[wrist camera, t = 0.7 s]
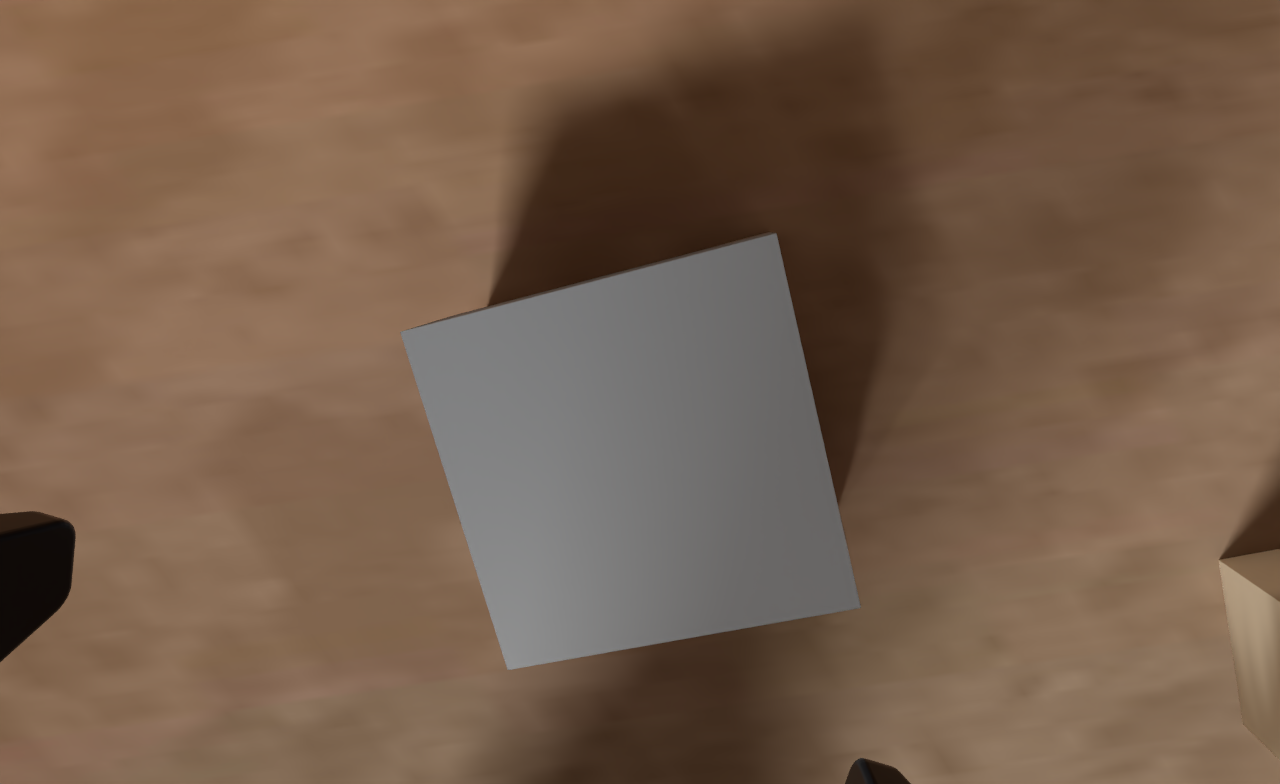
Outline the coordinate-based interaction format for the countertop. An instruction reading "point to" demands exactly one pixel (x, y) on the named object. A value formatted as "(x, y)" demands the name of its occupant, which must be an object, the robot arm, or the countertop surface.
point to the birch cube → (1256, 639)
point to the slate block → (637, 456)
